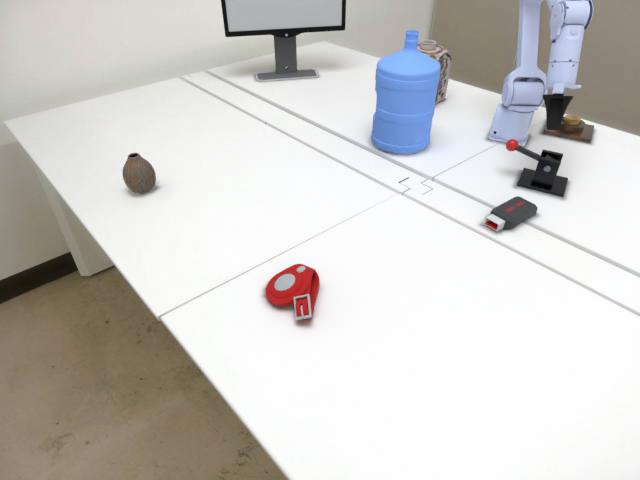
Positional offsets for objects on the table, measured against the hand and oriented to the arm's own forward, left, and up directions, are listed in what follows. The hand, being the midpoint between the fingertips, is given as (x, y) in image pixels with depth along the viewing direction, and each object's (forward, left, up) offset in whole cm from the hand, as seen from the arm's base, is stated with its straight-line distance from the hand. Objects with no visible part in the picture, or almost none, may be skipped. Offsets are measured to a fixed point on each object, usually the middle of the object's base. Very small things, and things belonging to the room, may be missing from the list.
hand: (553, 129), depth 100 cm
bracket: (+2, -2, -13) cm, 13 cm away
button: (+4, +31, -10) cm, 33 cm away
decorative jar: (-40, +33, -13) cm, 54 cm away
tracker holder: (-29, -62, -13) cm, 70 cm away
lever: (-3, -2, -7) cm, 8 cm away
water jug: (-35, +2, -13) cm, 38 cm away
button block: (+4, +31, -13) cm, 34 cm away
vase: (-78, -49, -13) cm, 93 cm away
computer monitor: (-90, +32, -13) cm, 97 cm away
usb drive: (-2, -20, -13) cm, 24 cm away
